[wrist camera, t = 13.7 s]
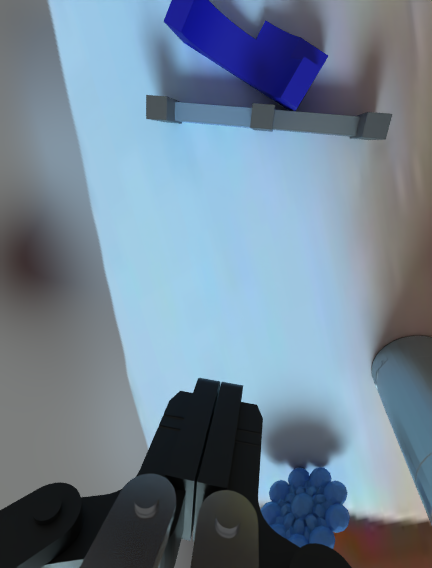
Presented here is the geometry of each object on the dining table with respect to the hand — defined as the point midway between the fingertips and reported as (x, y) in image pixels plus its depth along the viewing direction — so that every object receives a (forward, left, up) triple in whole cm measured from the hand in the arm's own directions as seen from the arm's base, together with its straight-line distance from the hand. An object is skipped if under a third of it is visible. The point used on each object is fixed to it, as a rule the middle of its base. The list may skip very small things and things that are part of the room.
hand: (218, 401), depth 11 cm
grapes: (-11, +36, -27) cm, 46 cm away
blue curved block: (+3, -15, -27) cm, 31 cm away
